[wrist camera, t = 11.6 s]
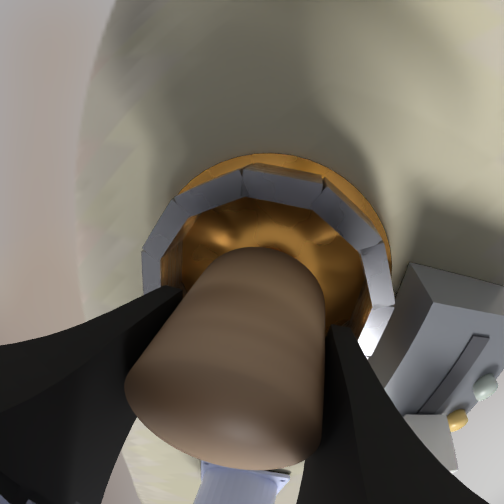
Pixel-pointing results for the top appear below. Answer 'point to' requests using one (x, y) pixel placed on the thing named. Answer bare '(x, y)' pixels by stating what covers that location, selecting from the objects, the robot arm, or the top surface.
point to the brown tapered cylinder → (239, 365)
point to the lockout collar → (280, 234)
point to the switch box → (441, 344)
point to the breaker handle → (435, 437)
